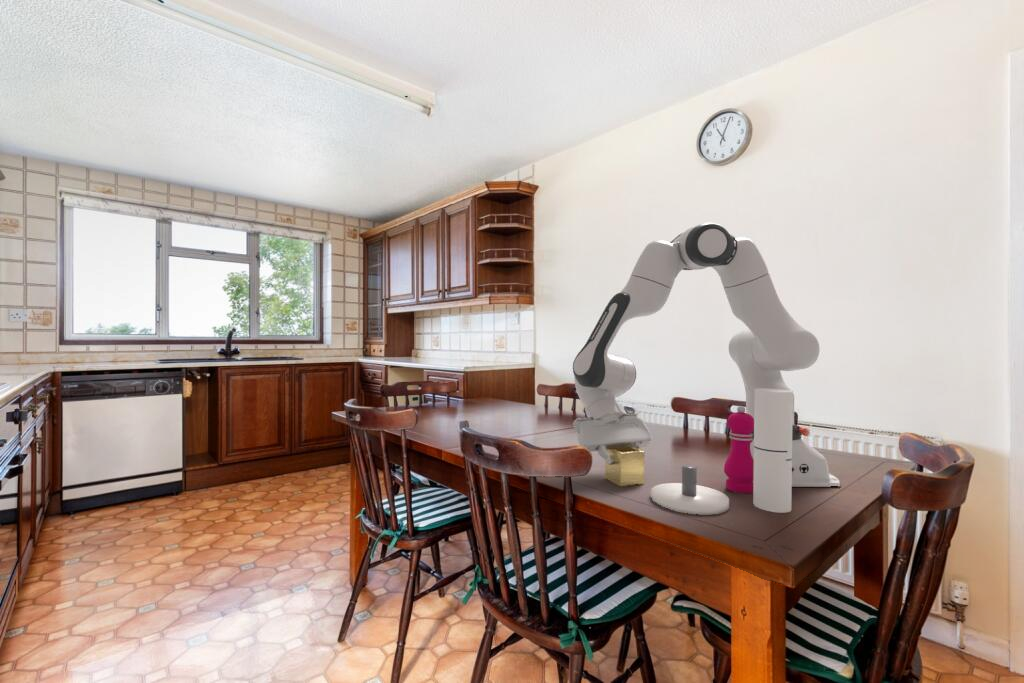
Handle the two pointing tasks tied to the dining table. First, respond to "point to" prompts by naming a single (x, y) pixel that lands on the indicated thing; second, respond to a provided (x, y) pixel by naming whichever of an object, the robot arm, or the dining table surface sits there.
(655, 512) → the dining table surface
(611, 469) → the yellow square cup
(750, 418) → the pepper mill
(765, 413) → the cylindrical container
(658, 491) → the plate
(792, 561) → the dining table surface
